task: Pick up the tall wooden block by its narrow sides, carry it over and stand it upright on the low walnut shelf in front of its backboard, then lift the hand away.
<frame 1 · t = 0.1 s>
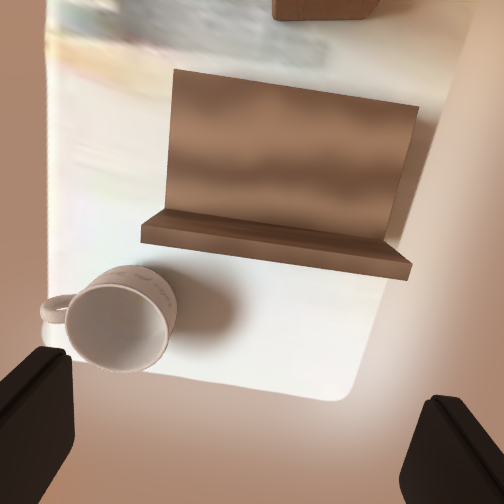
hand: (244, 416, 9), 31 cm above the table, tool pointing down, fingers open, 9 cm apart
walnut shelf: (281, 164, 37), on the table
teacup: (129, 293, 43), on the table
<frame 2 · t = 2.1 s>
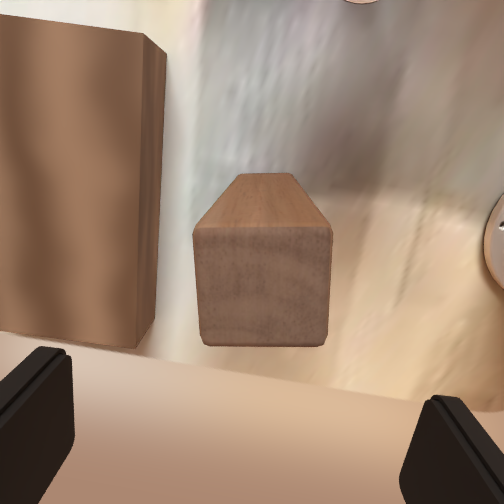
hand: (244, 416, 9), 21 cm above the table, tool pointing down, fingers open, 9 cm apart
walnut shelf: (76, 190, 29), on the table
wooden block: (265, 226, 29), on the table
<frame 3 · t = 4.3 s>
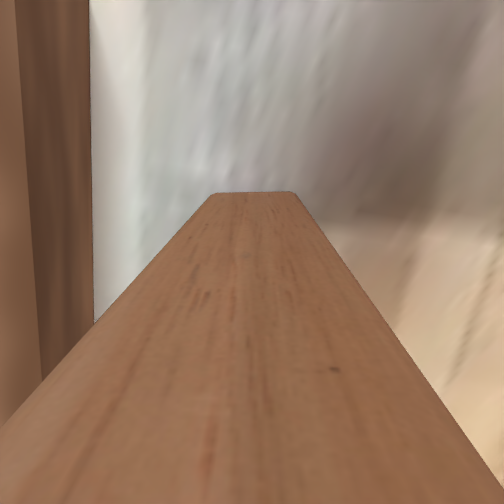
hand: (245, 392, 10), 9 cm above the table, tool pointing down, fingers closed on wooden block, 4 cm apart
wooden block: (254, 272, 19), on the table, touching gripper
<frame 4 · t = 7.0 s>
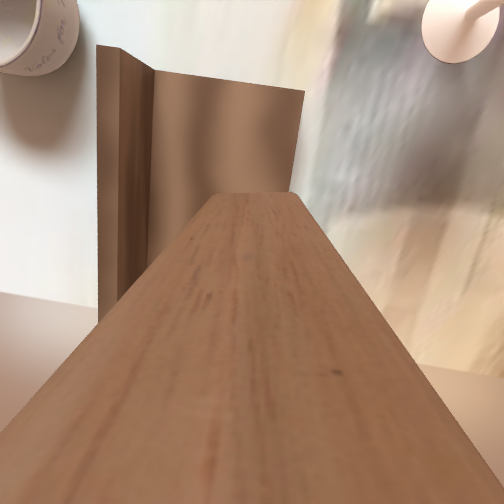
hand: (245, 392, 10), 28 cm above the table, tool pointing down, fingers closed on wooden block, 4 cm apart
walnut shelf: (216, 201, 36), on the table
teacup: (40, 2, 32), on the table
champagne flute: (458, 22, 31), on the table
wooden block: (255, 272, 19), point 18 cm above the table, touching gripper
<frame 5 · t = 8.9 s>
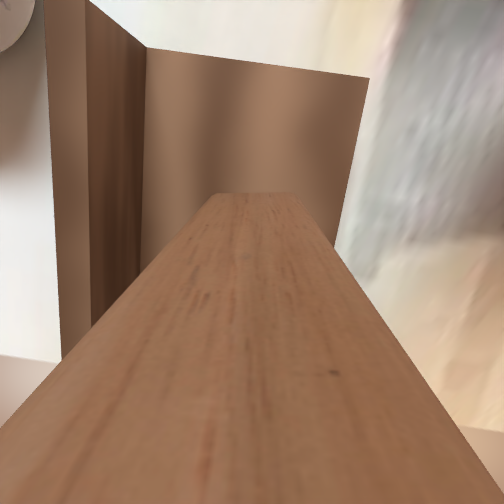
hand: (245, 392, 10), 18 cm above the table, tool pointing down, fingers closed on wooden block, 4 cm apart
walnut shelf: (231, 229, 27), on the table
wooden block: (255, 272, 19), point 9 cm above the table, touching gripper
when the fingers open (16 cm above the table, at t = 10.2 s): wooden block drops 1 cm, resting on walnut shelf.
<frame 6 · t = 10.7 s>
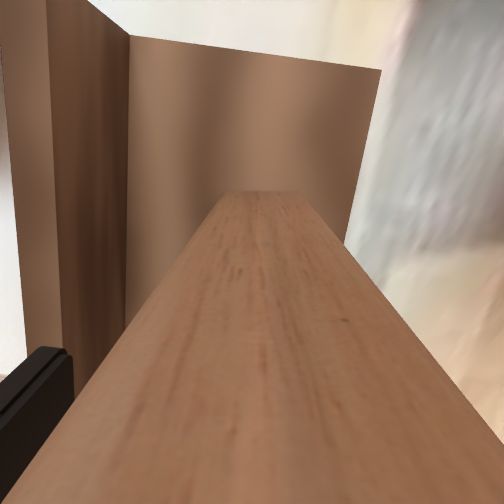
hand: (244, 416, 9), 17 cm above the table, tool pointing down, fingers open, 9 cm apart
walnut shelf: (227, 237, 25), on the table
wooden block: (261, 265, 21), point 5 cm above the table, touching walnut shelf
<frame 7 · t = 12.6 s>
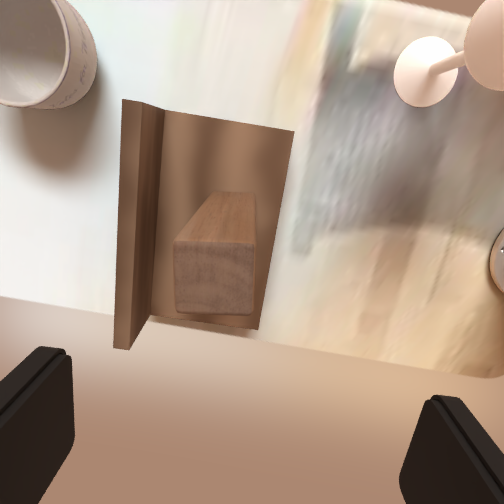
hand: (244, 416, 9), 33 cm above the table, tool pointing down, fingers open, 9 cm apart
walnut shelf: (214, 219, 41), on the table
teacup: (60, 42, 36), on the table
champagne flute: (424, 73, 36), on the table
wooden block: (232, 233, 37), point 5 cm above the table, touching walnut shelf
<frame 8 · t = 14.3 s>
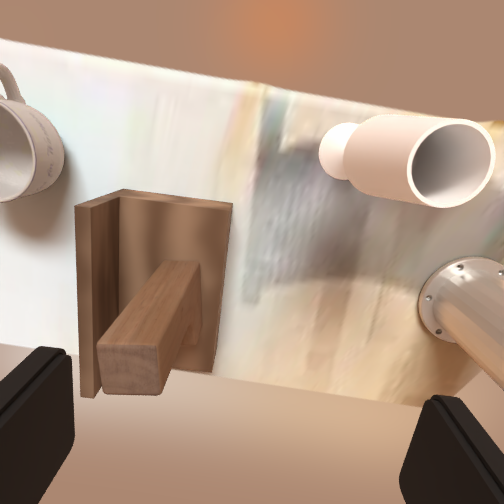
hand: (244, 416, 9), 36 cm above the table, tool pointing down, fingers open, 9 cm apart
walnut shelf: (173, 275, 47), on the table
teacup: (34, 136, 42), on the table
champagne flute: (346, 151, 42), on the table
wooden block: (183, 293, 43), point 5 cm above the table, touching walnut shelf
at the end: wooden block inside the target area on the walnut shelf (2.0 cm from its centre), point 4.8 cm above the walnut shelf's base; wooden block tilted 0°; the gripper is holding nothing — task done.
